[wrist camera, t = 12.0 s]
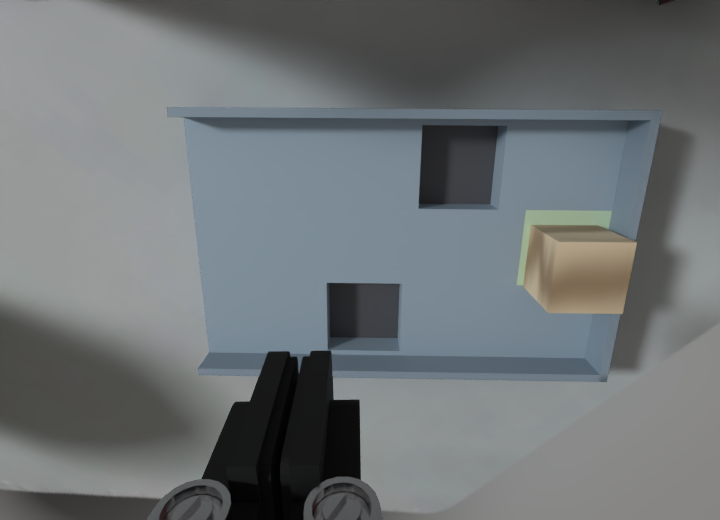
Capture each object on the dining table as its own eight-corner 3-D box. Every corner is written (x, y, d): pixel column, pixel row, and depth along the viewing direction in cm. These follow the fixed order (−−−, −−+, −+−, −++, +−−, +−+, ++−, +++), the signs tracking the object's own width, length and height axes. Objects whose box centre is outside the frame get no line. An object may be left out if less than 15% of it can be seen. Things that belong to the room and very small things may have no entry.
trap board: (195, 109, 33) (166, 107, 28) (619, 112, 32) (662, 110, 28) (219, 344, 39) (198, 375, 34) (577, 349, 38) (606, 381, 34)
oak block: (530, 224, 32) (558, 241, 28) (597, 225, 32) (637, 242, 28) (522, 286, 34) (548, 313, 29) (586, 287, 34) (622, 313, 29)
